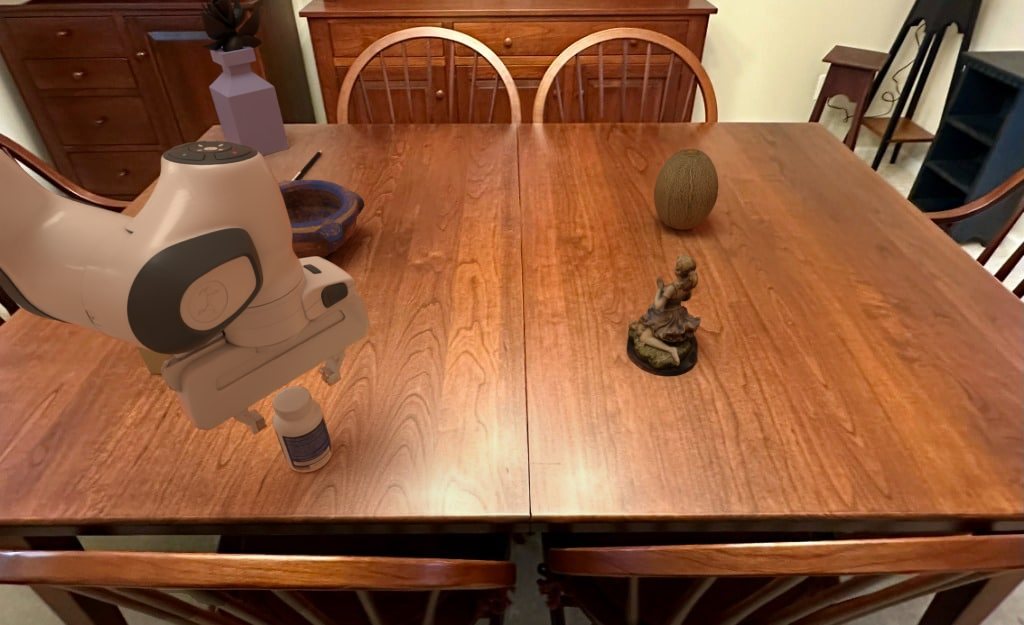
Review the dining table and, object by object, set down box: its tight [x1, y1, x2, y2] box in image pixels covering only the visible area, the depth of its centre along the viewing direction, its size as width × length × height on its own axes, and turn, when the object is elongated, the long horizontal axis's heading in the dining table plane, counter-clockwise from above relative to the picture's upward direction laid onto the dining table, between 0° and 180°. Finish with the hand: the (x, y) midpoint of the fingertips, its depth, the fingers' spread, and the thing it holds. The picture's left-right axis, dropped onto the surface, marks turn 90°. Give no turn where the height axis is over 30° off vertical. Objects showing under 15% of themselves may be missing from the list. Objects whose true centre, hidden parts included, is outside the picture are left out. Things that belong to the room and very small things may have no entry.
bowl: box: [277, 179, 366, 259], centre depth 106 cm, size 18×18×10 cm
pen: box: [290, 149, 323, 181], centre depth 135 cm, size 1×19×1 cm, turn 174°
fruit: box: [653, 148, 719, 231], centre depth 110 cm, size 11×11×15 cm
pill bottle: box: [272, 385, 334, 473], centre depth 69 cm, size 5×5×10 cm
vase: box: [200, 0, 290, 157], centre depth 135 cm, size 14×12×35 cm
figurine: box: [626, 253, 702, 377], centre depth 83 cm, size 12×11×15 cm
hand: (296, 403), depth 67 cm, fingers open, 8 cm apart
